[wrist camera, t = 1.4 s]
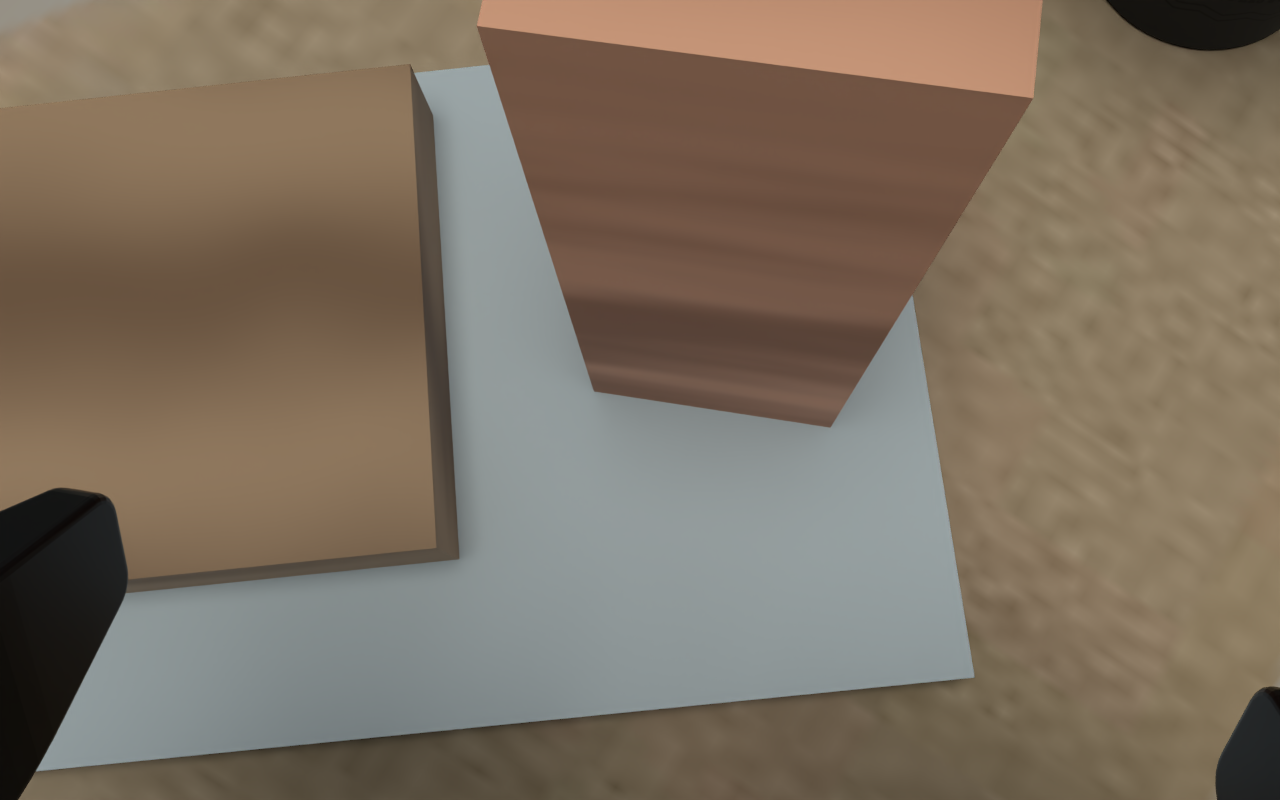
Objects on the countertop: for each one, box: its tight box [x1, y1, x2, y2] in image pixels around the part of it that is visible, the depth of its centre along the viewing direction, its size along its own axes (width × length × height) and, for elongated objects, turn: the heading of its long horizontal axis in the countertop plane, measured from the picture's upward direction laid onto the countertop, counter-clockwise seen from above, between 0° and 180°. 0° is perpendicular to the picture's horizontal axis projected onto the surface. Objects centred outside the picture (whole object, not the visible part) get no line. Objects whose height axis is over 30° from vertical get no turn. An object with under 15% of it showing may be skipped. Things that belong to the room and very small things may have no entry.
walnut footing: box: [0, 64, 460, 593], centre depth 21 cm, size 9×9×2 cm
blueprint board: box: [36, 65, 975, 771], centre depth 22 cm, size 13×18×1 cm
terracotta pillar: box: [477, 0, 1043, 428], centre depth 16 cm, size 4×4×12 cm
